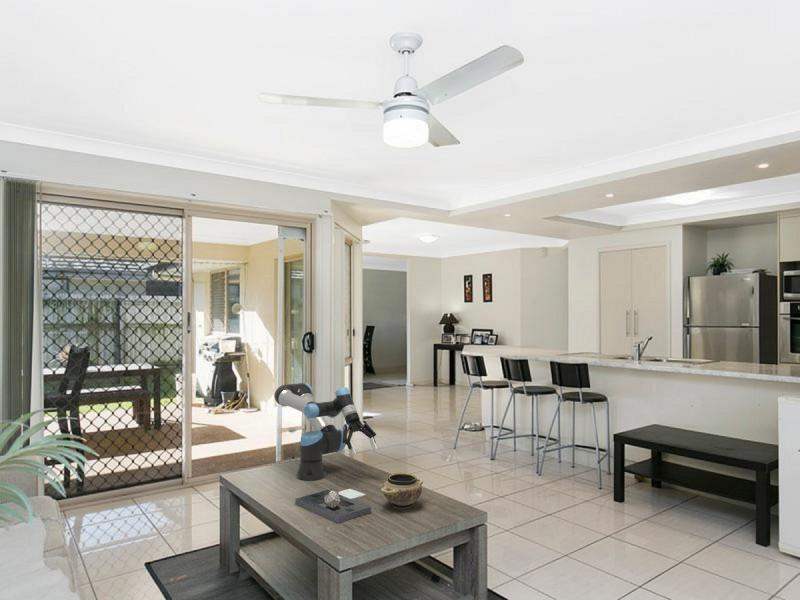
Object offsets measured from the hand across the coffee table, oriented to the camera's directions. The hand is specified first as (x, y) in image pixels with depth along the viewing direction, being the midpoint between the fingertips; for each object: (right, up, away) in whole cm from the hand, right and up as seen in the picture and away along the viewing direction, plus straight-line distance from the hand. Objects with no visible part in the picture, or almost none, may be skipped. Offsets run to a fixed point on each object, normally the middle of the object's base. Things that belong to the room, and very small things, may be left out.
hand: (365, 452), depth 278 cm
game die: (-12, -15, -36) cm, 41 cm away
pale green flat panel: (-7, -15, -19) cm, 25 cm away
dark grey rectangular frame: (-12, -15, -36) cm, 41 cm away
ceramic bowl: (+19, -15, -33) cm, 41 cm away
